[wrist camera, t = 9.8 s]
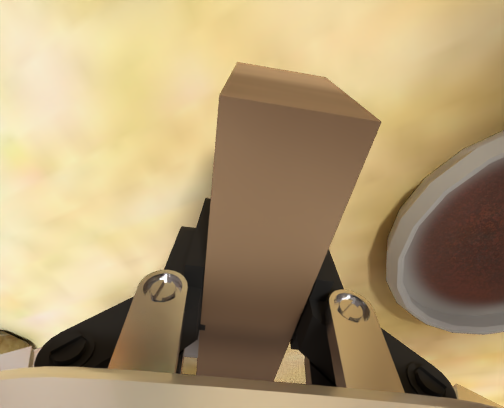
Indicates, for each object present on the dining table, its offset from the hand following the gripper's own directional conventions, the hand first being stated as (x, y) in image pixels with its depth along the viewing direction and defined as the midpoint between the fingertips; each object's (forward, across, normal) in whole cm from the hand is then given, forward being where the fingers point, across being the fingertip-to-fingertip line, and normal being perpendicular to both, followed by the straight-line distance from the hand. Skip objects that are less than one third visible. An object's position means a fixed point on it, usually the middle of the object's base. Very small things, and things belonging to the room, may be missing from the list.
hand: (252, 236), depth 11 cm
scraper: (+1, 0, +2) cm, 3 cm away
